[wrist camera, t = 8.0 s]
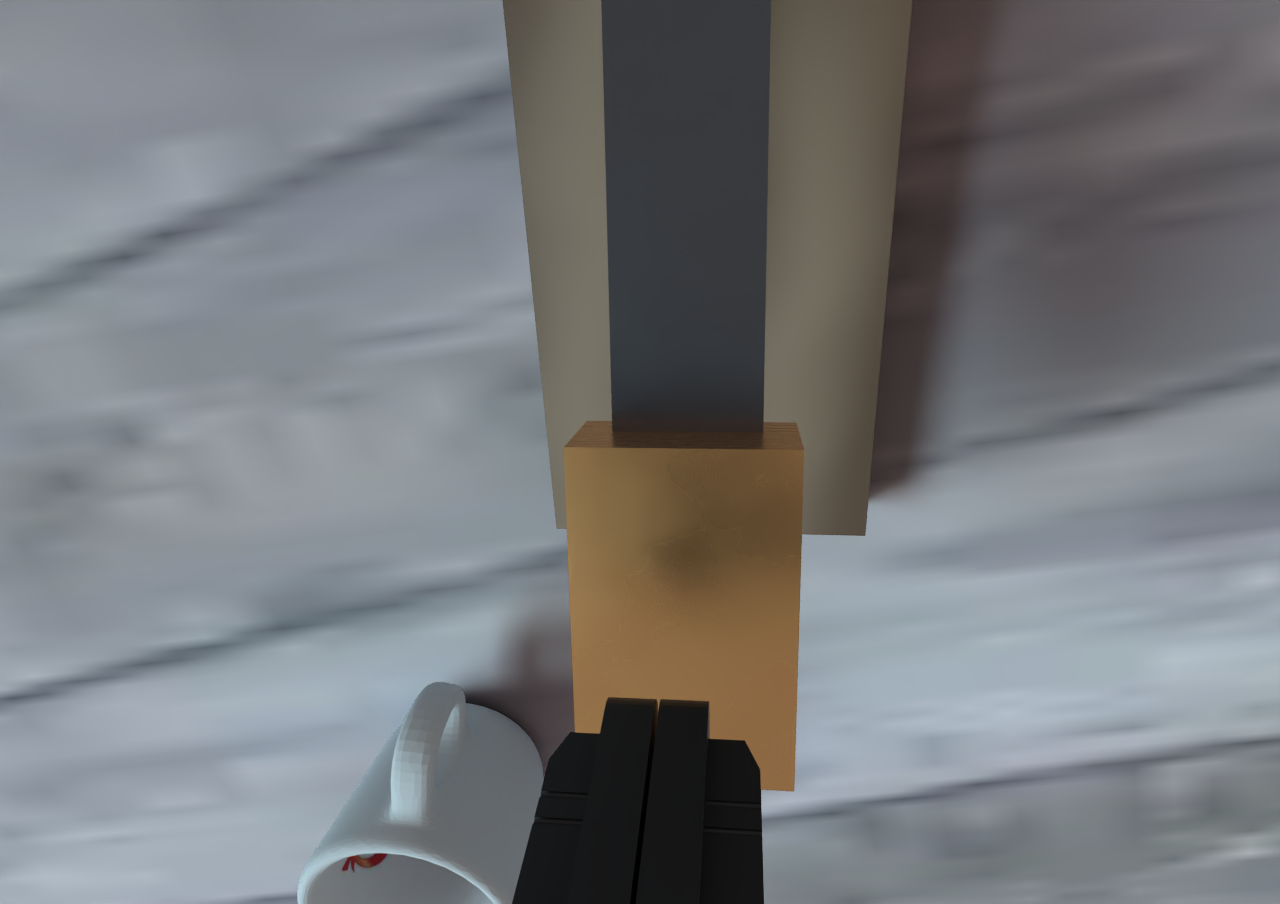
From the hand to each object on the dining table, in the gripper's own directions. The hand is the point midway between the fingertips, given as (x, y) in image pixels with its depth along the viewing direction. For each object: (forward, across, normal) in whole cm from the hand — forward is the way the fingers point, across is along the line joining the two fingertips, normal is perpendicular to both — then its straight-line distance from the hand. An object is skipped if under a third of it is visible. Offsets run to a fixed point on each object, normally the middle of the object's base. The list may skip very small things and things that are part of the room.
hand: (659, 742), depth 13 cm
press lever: (+9, 0, -7) cm, 11 cm away
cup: (+17, +10, +16) cm, 25 cm away
